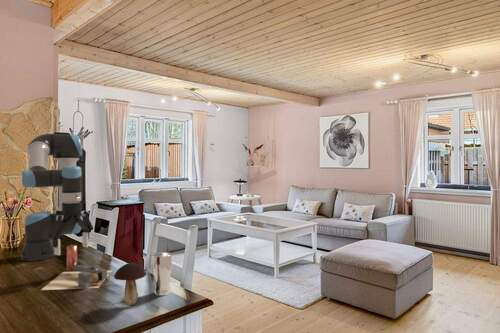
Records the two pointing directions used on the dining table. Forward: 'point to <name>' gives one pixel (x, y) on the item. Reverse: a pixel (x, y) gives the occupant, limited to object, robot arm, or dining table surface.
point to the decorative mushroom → (130, 280)
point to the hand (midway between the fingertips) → (72, 250)
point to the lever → (74, 266)
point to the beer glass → (162, 273)
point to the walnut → (94, 277)
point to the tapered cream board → (74, 281)
